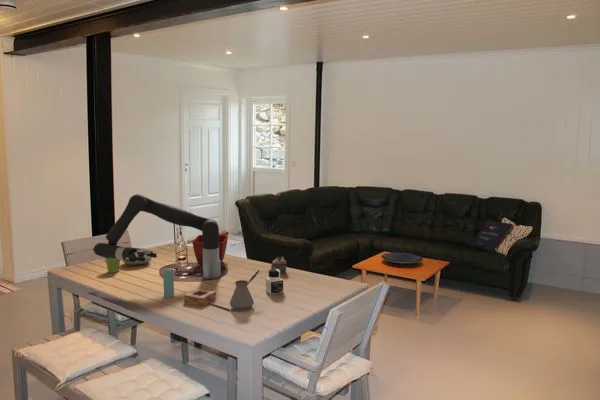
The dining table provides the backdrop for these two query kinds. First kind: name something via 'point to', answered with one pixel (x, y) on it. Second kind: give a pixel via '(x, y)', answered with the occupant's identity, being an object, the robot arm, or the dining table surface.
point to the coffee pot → (242, 295)
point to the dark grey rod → (219, 306)
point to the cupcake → (279, 265)
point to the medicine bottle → (274, 282)
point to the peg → (168, 282)
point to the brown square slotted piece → (199, 297)
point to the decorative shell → (139, 261)
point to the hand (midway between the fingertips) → (150, 257)
